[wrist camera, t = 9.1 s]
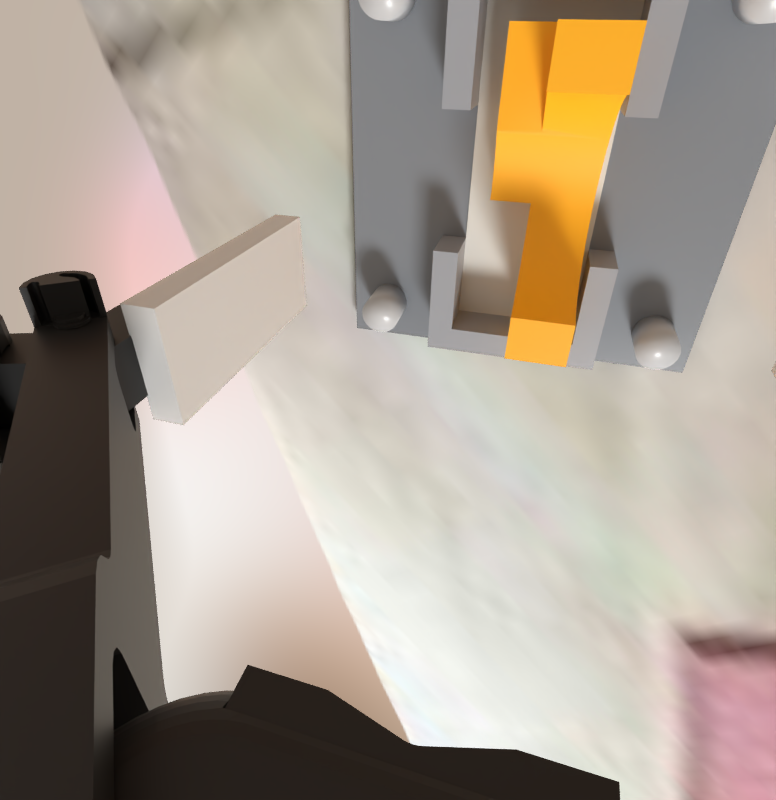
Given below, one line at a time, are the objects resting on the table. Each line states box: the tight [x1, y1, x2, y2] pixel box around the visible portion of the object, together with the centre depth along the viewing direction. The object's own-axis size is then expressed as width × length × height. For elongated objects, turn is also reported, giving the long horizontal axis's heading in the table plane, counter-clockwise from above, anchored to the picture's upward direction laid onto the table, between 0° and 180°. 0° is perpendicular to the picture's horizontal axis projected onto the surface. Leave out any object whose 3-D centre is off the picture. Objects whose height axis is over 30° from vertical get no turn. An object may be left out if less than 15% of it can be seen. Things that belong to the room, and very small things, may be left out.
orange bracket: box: [490, 19, 647, 367], centre depth 22 cm, size 12×4×6 cm, turn 0°
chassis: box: [349, 0, 776, 373], centre depth 25 cm, size 18×18×4 cm
